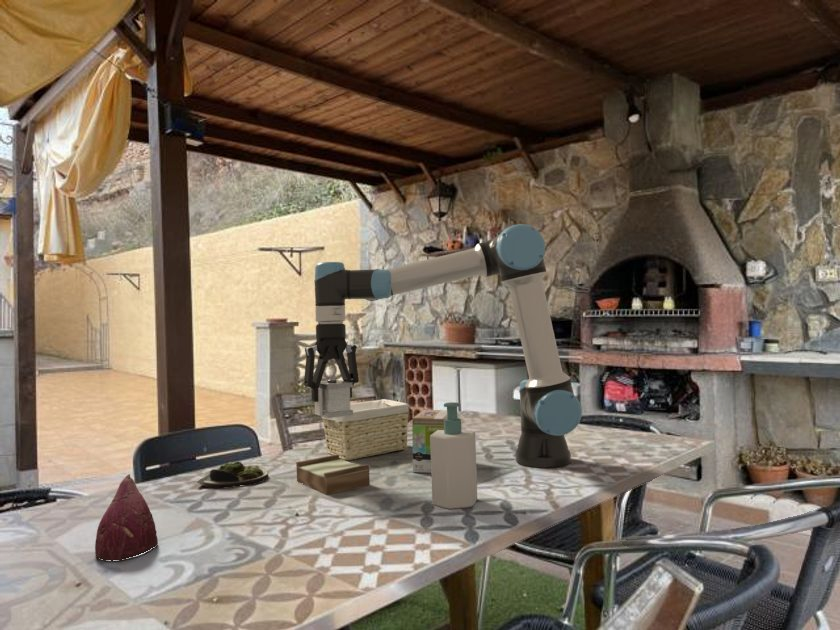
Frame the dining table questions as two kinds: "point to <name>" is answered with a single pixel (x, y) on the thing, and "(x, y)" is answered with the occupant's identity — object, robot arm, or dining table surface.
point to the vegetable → (126, 525)
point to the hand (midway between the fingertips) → (332, 412)
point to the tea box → (425, 437)
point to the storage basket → (368, 429)
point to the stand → (332, 474)
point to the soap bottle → (453, 463)
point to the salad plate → (233, 475)
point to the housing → (335, 398)
